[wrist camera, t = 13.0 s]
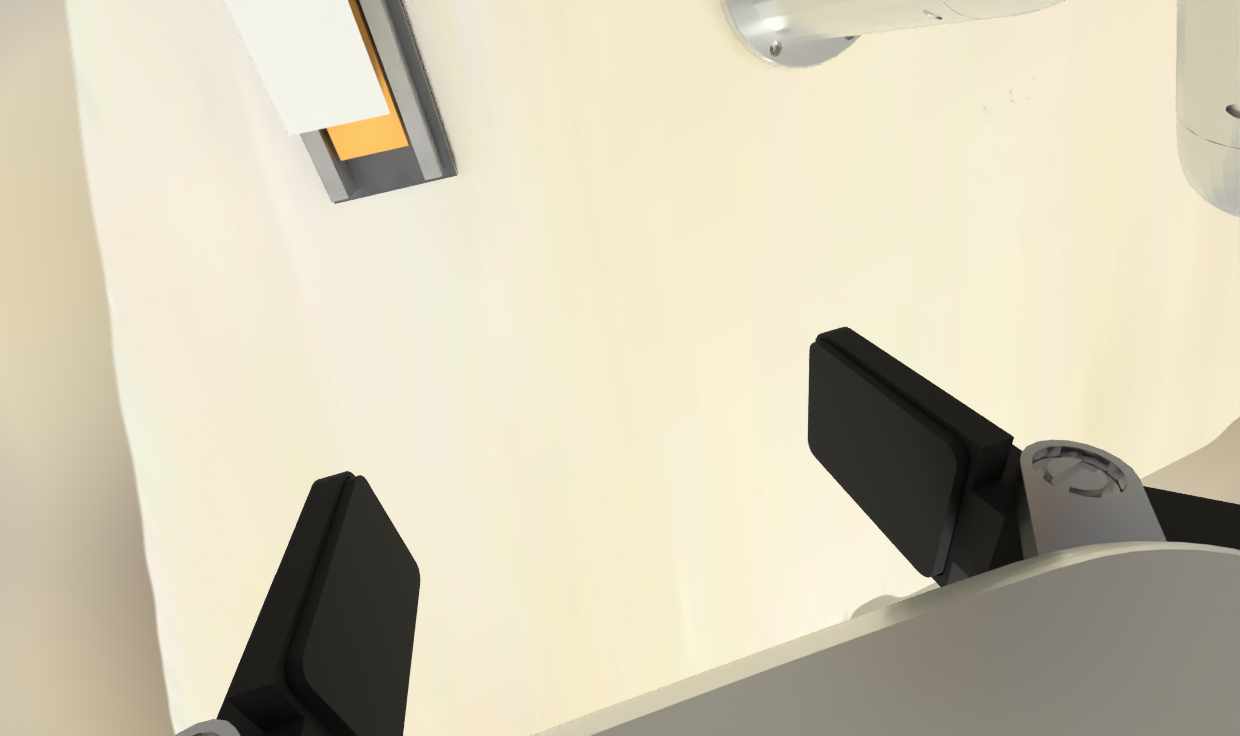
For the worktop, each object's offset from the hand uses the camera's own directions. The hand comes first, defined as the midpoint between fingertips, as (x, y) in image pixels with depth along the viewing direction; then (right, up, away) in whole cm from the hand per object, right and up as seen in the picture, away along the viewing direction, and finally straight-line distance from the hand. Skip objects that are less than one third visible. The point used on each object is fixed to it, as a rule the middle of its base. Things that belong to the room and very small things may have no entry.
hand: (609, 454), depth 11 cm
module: (-16, +19, +17) cm, 30 cm away
